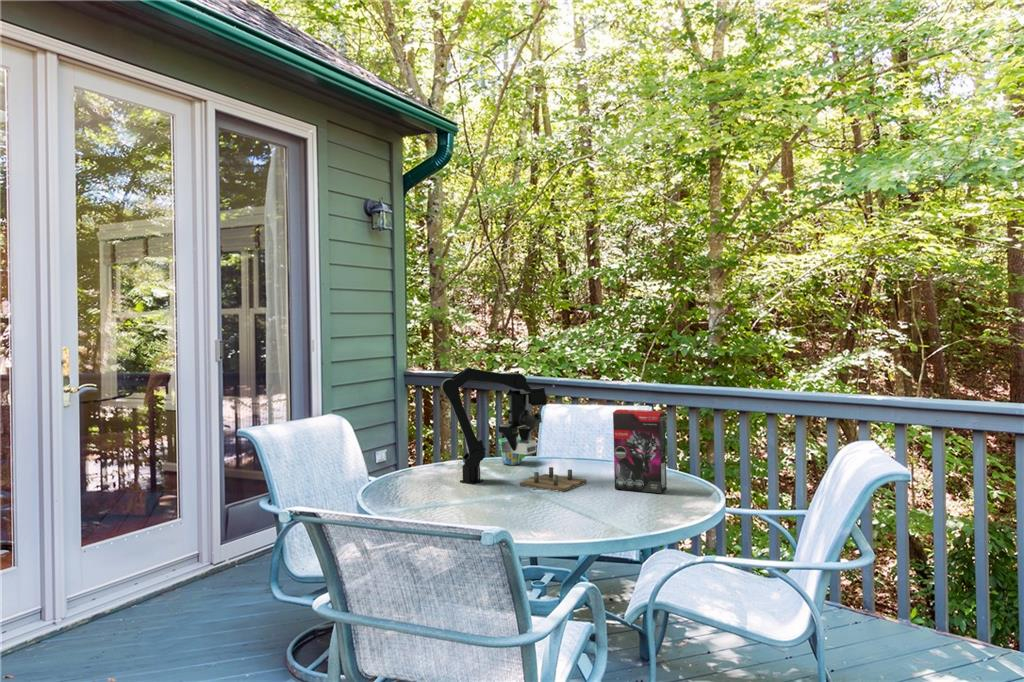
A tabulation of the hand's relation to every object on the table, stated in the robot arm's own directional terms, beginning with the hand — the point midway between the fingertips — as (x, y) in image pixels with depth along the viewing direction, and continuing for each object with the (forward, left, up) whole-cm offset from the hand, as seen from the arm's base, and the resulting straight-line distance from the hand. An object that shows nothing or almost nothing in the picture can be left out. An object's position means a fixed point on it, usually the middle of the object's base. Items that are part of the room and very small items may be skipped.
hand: (519, 448), depth 266 cm
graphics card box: (+7, -45, -11) cm, 47 cm away
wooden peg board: (-1, -15, -11) cm, 19 cm away
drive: (0, 0, -1) cm, 1 cm away
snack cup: (+21, +19, -11) cm, 30 cm away
